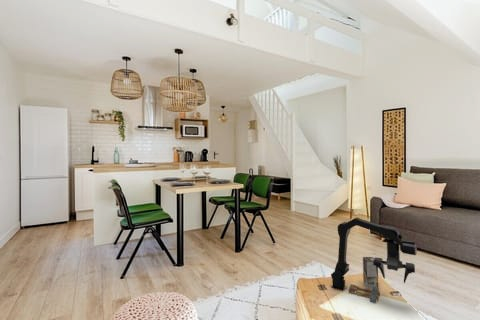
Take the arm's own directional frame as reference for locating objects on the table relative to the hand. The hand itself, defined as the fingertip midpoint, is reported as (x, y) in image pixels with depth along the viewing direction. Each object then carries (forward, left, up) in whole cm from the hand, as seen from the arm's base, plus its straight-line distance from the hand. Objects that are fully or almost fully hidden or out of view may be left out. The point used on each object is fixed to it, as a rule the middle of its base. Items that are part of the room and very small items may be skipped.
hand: (394, 280), depth 136 cm
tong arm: (-15, 0, -12) cm, 19 cm away
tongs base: (-15, +2, -12) cm, 20 cm away
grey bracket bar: (-10, +1, -12) cm, 16 cm away
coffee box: (-14, +15, -13) cm, 24 cm away
